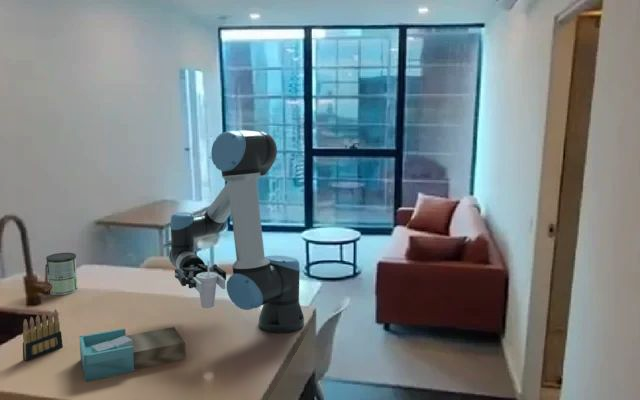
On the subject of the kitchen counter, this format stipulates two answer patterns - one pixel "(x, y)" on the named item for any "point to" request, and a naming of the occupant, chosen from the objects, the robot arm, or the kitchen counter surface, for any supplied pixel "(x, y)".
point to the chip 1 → (102, 347)
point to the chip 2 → (122, 342)
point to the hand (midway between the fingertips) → (212, 286)
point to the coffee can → (62, 273)
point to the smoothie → (207, 287)
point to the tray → (105, 356)
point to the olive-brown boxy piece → (157, 347)
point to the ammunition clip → (41, 336)
